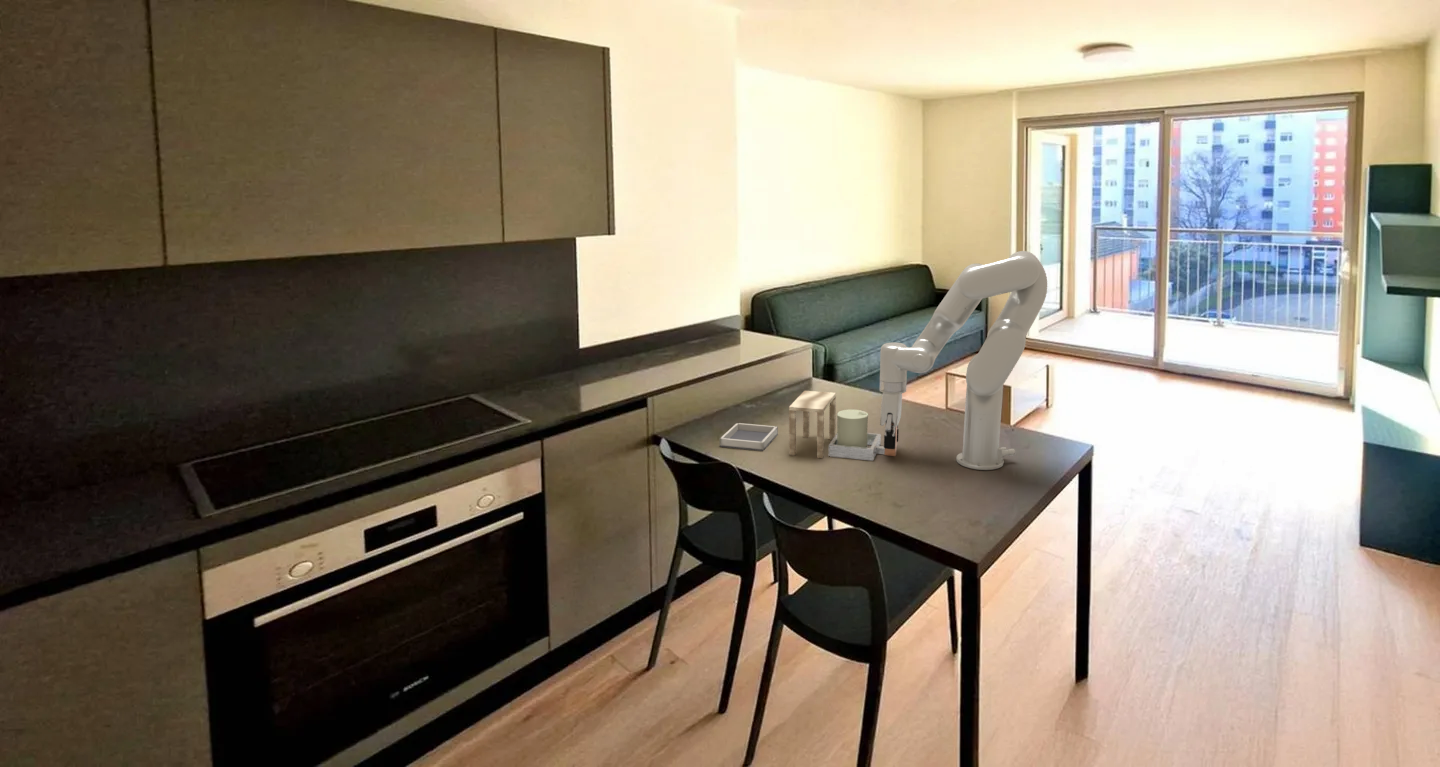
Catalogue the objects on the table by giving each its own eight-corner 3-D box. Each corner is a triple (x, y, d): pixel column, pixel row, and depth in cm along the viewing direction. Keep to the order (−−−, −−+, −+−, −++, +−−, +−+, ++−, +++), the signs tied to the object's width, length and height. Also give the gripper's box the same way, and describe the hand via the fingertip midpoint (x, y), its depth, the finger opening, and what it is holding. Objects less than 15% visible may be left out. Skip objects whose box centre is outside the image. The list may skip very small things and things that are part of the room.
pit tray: (777, 434, 239) (777, 426, 238) (763, 451, 224) (762, 442, 224) (736, 430, 244) (736, 422, 243) (719, 446, 229) (719, 438, 229)
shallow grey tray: (898, 446, 225) (899, 415, 222) (892, 462, 212) (893, 429, 209) (838, 441, 231) (838, 410, 228) (828, 456, 218) (828, 424, 216)
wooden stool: (835, 438, 233) (835, 392, 229) (822, 458, 217) (822, 409, 213) (804, 435, 237) (804, 390, 233) (789, 455, 221) (789, 406, 217)
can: (869, 455, 218) (870, 416, 215) (838, 456, 218) (838, 417, 215) (865, 444, 227) (865, 407, 224) (834, 445, 227) (835, 408, 224)
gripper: (884, 377, 222) (882, 434, 227) (874, 392, 207) (873, 453, 212) (909, 379, 220) (907, 436, 224) (902, 394, 204) (900, 456, 209)
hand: (891, 444), depth 218 cm, fingers open, 5 cm apart
